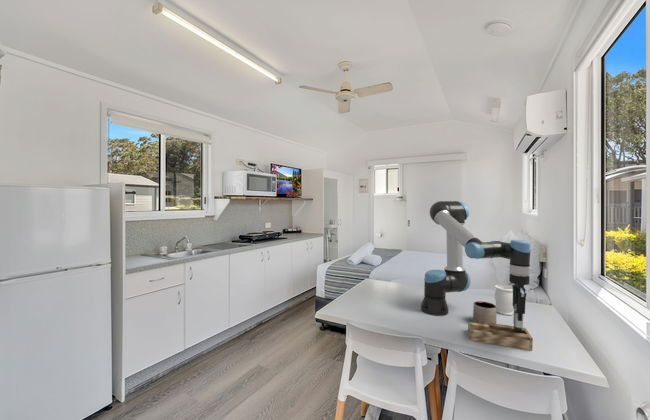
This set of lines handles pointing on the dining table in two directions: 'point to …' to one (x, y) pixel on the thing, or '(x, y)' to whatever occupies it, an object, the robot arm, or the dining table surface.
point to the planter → (484, 312)
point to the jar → (504, 299)
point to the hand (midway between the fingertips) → (518, 325)
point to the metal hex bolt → (516, 329)
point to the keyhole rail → (493, 339)
